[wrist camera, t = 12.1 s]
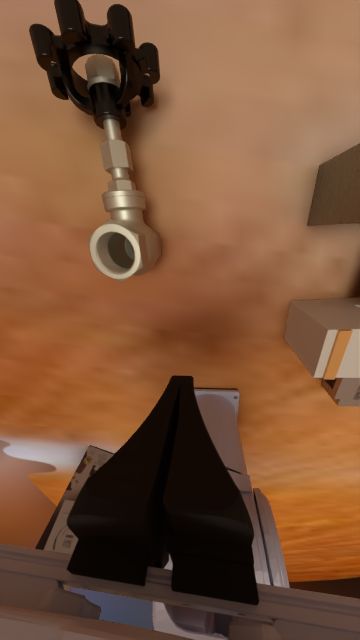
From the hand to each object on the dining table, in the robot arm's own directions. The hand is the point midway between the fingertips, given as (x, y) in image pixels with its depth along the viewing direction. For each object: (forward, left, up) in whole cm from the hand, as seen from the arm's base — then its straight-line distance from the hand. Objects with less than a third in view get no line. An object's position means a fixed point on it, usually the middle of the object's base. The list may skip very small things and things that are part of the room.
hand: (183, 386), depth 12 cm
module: (0, -14, -9) cm, 17 cm away
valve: (+12, +4, -10) cm, 16 cm away
